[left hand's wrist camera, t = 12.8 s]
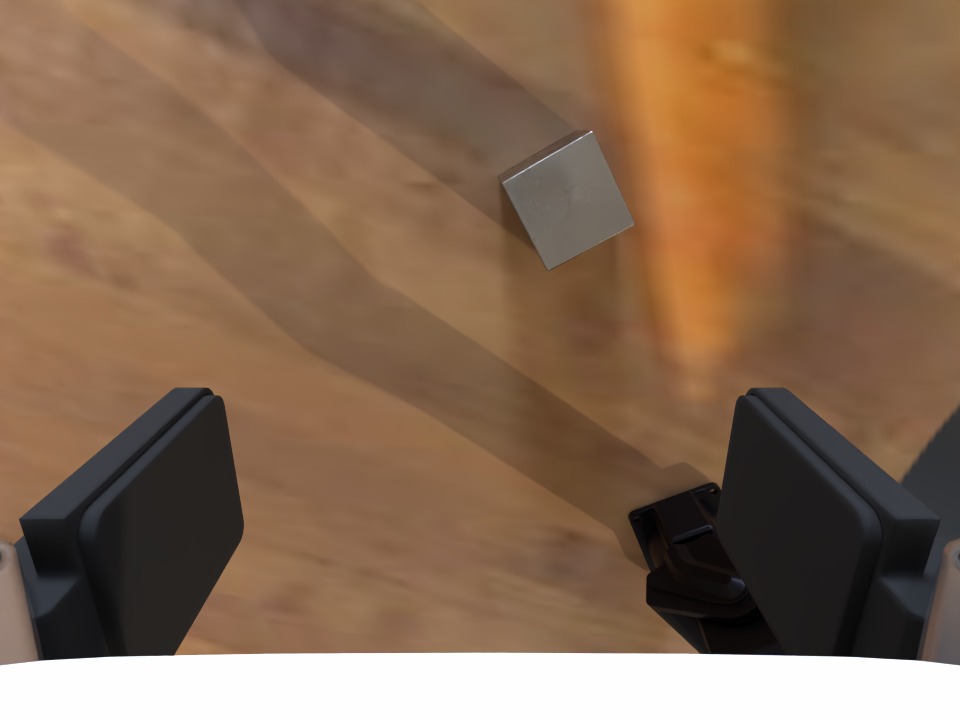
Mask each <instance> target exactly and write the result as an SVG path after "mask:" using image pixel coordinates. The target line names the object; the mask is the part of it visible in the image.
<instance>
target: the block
mask: <svg viewBox="0 0 960 720" xmlns="http://www.w3.org/2000/svg"><path fill="white" fill-rule="evenodd" d="M498 178H499V180H500V182H501V184H502V186H503V188H504V190H505V192H506V194H507V195H508V197H509V199H510V201H511V203H512V205H513V207H514V209H515V211H516V213H517V215H518V216H519V218H520V220H521V222H522V224H523V226H524V228H525V230H526V232H527V234H528V236H529V237H530V239H531V241H532V243H533V245H534V247H535V249H536V251H537V253H538V255H539V257H540V259H541V260H542V262H543V264H544V266H545V268H546V270H547V271H550V270H551V269H553V268H555V267H557V266H559V265H561V264H563V263H564V262H566V261H568V260H570V259H572V258H574V257H576V256H577V255H579V254H581V253H583V252H585V251H587V250H589V249H590V248H592V247H594V246H596V245H598V244H600V243H602V242H603V241H605V240H607V239H609V238H611V237H613V236H615V235H616V234H618V233H620V232H622V231H624V230H626V229H627V228H629V227H631V226H633V225H634V224H635V222H634V220H633V218H632V216H631V214H630V211H629V209H628V207H627V205H626V203H625V200H624V198H623V196H622V194H621V192H620V189H619V187H618V185H617V183H616V181H615V178H614V176H613V174H612V172H611V170H610V167H609V165H608V163H607V161H606V159H605V156H604V154H603V152H602V150H601V148H600V145H599V143H598V141H597V139H596V137H595V134H594V132H593V131H581V130H576V131H575V132H573V133H571V134H569V135H568V136H566V137H564V138H562V139H561V140H559V141H557V142H556V143H554V144H552V145H550V146H549V147H547V148H545V149H543V150H542V151H540V152H538V153H536V154H535V155H533V156H531V157H530V158H528V159H526V160H524V161H523V162H521V163H519V164H517V165H516V166H514V167H512V168H510V169H509V170H507V171H505V172H504V173H502V174H500V175H499V176H498Z"/></svg>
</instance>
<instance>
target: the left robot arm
mask: <svg viewBox="0 0 960 720" xmlns="http://www.w3.org/2000/svg"><path fill="white" fill-rule="evenodd" d="M940 520H941V519H940V518H939V517H938V516H937V515H936V514H934V513H933V512H932V511H931V510H930V509H928V508H927V507H926V506H925V505H924V504H922V503H921V502H920V501H919V500H918V499H917V498H915V497H914V496H913V495H912V494H911V493H909V492H908V491H907V490H906V489H905V488H904V487H902V486H901V485H900V484H899V483H898V482H896V481H895V480H894V479H893V478H892V477H891V476H889V475H888V474H887V473H886V472H885V471H883V470H882V469H881V468H880V467H879V466H878V465H876V464H875V463H874V462H873V461H872V460H870V459H869V458H868V457H867V456H866V455H864V454H863V453H862V452H861V451H860V450H859V449H857V448H856V447H855V446H854V445H853V444H851V443H850V442H849V441H848V440H847V439H846V438H844V437H843V436H842V435H841V434H840V433H838V432H837V431H836V430H835V429H834V428H832V427H831V426H830V425H829V424H828V423H827V422H825V421H824V420H823V419H822V418H821V417H819V416H818V415H817V414H816V413H815V412H814V411H812V410H811V409H810V408H809V407H808V406H806V405H805V404H804V403H803V402H802V401H801V400H799V399H798V398H797V397H796V396H795V395H793V394H792V393H791V392H790V391H789V390H787V389H785V388H751V389H750V390H749V391H748V392H747V394H746V396H740V397H739V398H738V399H737V402H736V405H735V411H734V417H733V423H732V430H731V436H730V442H729V448H728V454H727V460H726V466H725V472H724V478H723V484H722V490H721V496H720V502H719V508H718V514H717V521H716V529H717V535H718V538H719V541H720V543H721V545H722V546H723V548H724V550H725V551H726V553H727V555H728V557H729V558H730V560H731V562H732V563H733V565H734V567H735V569H736V570H737V572H738V574H739V576H740V577H741V579H742V581H743V582H744V584H745V586H746V588H747V589H748V591H749V593H750V594H751V596H752V598H753V600H754V601H755V603H756V605H757V606H758V608H759V610H760V612H761V613H762V615H763V617H764V618H765V620H766V622H767V624H768V625H769V627H770V629H771V630H772V632H773V634H774V636H775V637H776V639H777V641H778V642H779V644H780V646H781V648H782V649H783V651H784V653H785V655H786V656H772V655H718V654H589V653H371V654H242V655H188V656H174V655H175V653H176V651H177V649H178V648H179V646H180V644H181V642H182V641H183V639H184V637H185V636H186V634H187V632H188V630H189V629H190V627H191V625H192V624H193V622H194V620H195V618H196V617H197V615H198V613H199V612H200V610H201V608H202V606H203V605H204V603H205V601H206V600H207V598H208V596H209V594H210V593H211V591H212V589H213V588H214V586H215V584H216V582H217V581H218V579H219V577H220V576H221V574H222V572H223V570H224V569H225V567H226V565H227V564H228V562H229V560H230V558H231V557H232V555H233V553H234V551H235V550H236V548H237V546H238V545H239V543H240V541H241V538H242V535H243V529H244V521H243V514H242V508H241V502H240V496H239V490H238V484H237V478H236V472H235V466H234V460H233V454H232V448H231V442H230V436H229V430H228V423H227V417H226V411H225V405H224V402H223V399H222V398H221V397H220V396H214V394H213V392H212V391H211V390H210V389H209V388H175V389H173V390H171V391H170V392H169V393H168V394H167V395H165V396H164V397H163V398H162V399H161V400H159V401H158V402H157V403H156V404H155V405H154V406H152V407H151V408H150V409H149V410H148V411H146V412H145V413H144V414H143V415H142V416H141V417H139V418H138V419H137V420H136V421H135V422H133V423H132V424H131V425H130V426H129V427H128V428H126V429H125V430H124V431H123V432H122V433H120V434H119V435H118V436H117V437H116V438H114V439H113V440H112V441H111V442H110V443H109V444H107V445H106V446H105V447H104V448H103V449H101V450H100V451H99V452H98V453H97V454H96V455H94V456H93V457H92V458H91V459H90V460H88V461H87V462H86V463H85V464H84V465H82V466H81V467H80V468H79V469H78V470H77V471H75V472H74V473H73V474H72V475H71V476H69V477H68V478H67V479H66V480H65V481H64V482H62V483H61V484H60V485H59V486H58V487H56V488H55V489H54V490H53V491H52V492H51V493H49V494H48V495H47V496H46V497H45V498H43V499H42V500H41V501H40V502H39V503H37V504H36V505H35V506H34V507H33V508H32V509H30V510H29V511H28V512H27V513H26V514H24V515H23V516H22V517H21V518H20V519H19V521H20V524H21V527H22V530H23V533H24V536H23V537H22V538H21V539H20V540H18V541H17V542H16V543H15V544H14V545H13V544H12V543H11V542H8V541H6V540H3V539H0V720H960V539H957V540H954V541H952V542H949V543H948V544H947V545H946V544H945V543H944V542H943V541H941V540H940V539H939V538H938V537H937V536H936V533H937V530H938V527H939V524H940Z"/></svg>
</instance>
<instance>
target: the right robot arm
mask: <svg viewBox="0 0 960 720" xmlns="http://www.w3.org/2000/svg"><path fill="white" fill-rule="evenodd" d="M712 489H715V490H714V491H713V492H710V491H711V490H712ZM720 496H721V489H720V488H719V486H718V485H717V484H716V483H708V484H705V485H703V486H700V487H697V488H694V489H692V490H689V491H686V492H683V493H680V494H678V495H675V496H672V497H669V498H667V499H664V500H661V501H658V502H656V503H653V504H650V505H648V506H645V507H642V508H639V509H637V510H634V511H632V512H631V513H630V514H629V520H630V523H631V525H632V528H633V530H634V532H635V535H636V537H637V540H638V542H639V544H640V547H641V549H642V552H643V554H644V556H645V559H646V561H647V564H648V566H649V568H650V571H651V572H650V573H649V574H648V575H647V584H646V602H647V604H648V605H649V606H650V607H651V608H652V609H653V610H654V611H655V612H656V613H658V614H659V615H660V616H661V617H662V618H663V619H664V620H665V621H666V622H667V623H668V624H669V625H670V626H671V627H672V628H674V629H675V630H676V631H677V632H678V633H679V634H680V635H681V636H682V637H683V638H684V639H685V640H686V641H687V642H689V643H690V644H691V645H692V646H693V647H694V648H695V649H696V650H697V651H698V652H699V653H700V654H718V655H772V656H786V655H785V653H784V651H783V649H782V648H781V646H780V644H779V642H778V641H777V639H776V637H775V636H774V634H773V632H772V630H771V629H770V627H769V625H768V624H767V622H766V620H765V618H764V617H763V615H762V613H761V612H760V610H759V608H758V606H757V605H756V603H755V601H754V600H753V598H752V596H751V594H750V593H749V591H748V589H747V588H746V586H745V584H744V582H743V581H742V579H741V577H740V576H739V574H738V572H737V570H736V569H735V567H734V565H733V563H732V562H731V560H730V558H729V557H728V555H727V553H726V551H725V550H724V548H723V546H722V545H721V543H720V541H719V538H718V535H717V529H716V521H717V514H718V508H719V502H720ZM635 517H639V518H638V519H634V518H635Z"/></svg>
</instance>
